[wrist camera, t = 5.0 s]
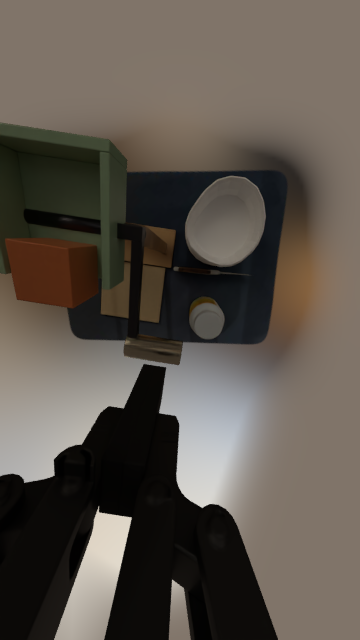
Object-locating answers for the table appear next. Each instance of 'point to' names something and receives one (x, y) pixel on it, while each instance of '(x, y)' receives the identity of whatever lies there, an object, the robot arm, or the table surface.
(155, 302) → the mat
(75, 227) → the tilting tray
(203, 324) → the supplement bottle
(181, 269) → the pocket knife
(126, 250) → the scoop stand
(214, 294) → the table surface
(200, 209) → the cup
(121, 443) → the robot arm
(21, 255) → the block
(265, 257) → the table surface
